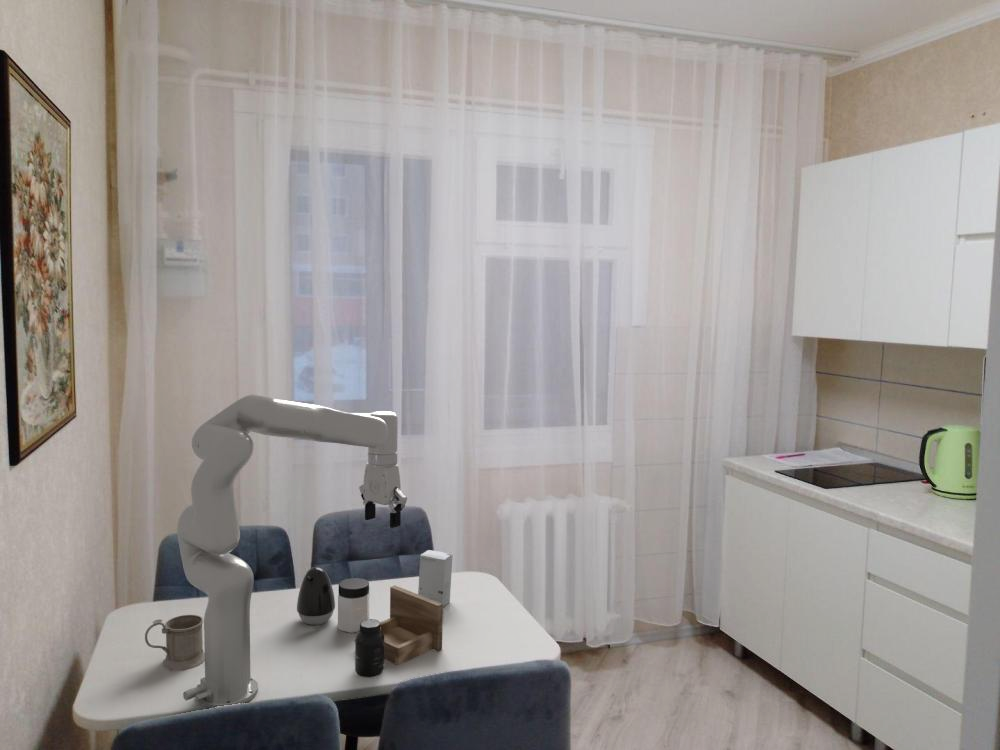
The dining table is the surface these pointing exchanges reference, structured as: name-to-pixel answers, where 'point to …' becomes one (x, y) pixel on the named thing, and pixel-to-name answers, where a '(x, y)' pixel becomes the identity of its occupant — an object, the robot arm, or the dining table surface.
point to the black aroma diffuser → (315, 597)
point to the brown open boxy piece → (411, 626)
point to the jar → (353, 604)
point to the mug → (181, 642)
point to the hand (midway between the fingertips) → (382, 522)
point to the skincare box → (435, 576)
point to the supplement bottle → (369, 649)
